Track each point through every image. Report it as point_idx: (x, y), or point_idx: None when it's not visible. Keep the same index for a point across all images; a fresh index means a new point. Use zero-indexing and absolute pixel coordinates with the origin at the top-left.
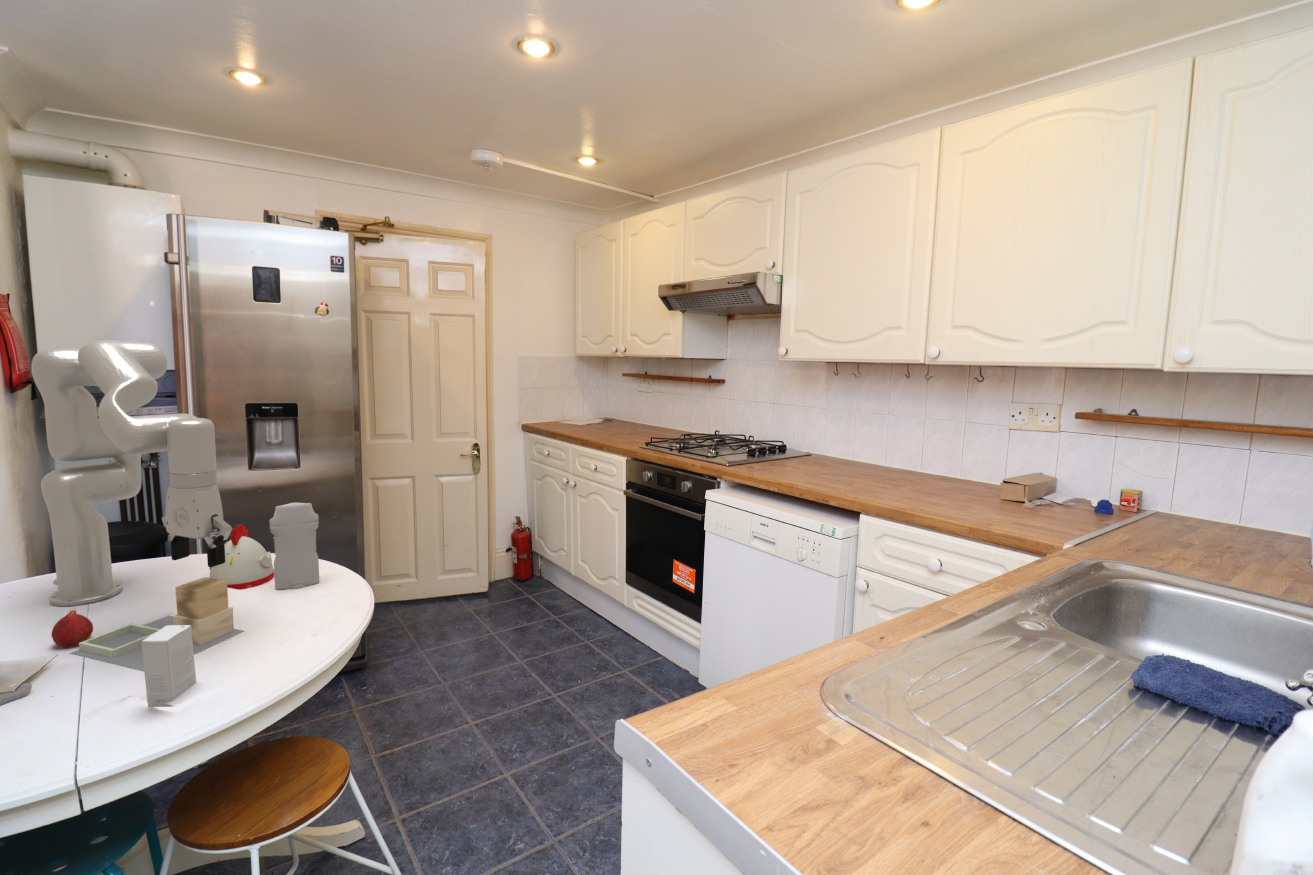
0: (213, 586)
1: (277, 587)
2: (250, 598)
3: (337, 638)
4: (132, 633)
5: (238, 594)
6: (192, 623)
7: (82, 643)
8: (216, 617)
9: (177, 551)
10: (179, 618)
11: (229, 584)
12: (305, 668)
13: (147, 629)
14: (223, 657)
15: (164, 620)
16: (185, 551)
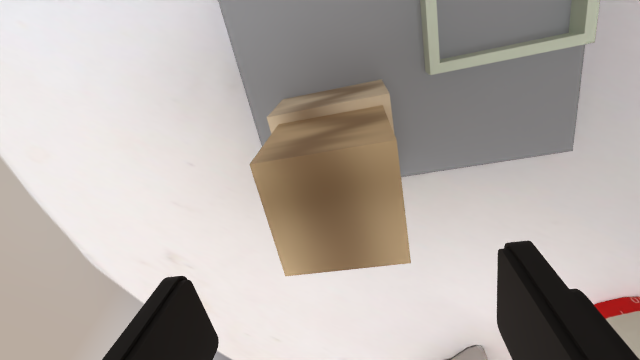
0: (271, 225)
1: (474, 351)
2: (486, 300)
3: (120, 264)
4: (550, 28)
5: None
6: (297, 108)
7: None
8: None
9: (526, 311)
10: (357, 98)
11: None
12: (23, 165)
13: (494, 51)
14: (202, 105)
15: (548, 127)
16: (515, 341)
